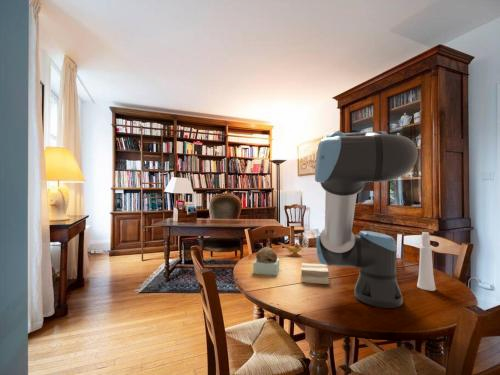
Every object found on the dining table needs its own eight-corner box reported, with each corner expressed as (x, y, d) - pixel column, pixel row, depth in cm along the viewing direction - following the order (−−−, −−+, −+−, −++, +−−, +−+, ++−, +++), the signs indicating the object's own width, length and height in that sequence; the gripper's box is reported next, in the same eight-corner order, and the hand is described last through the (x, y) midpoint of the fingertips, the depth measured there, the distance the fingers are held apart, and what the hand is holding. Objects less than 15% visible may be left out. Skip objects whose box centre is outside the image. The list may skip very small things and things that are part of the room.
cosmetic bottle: (419, 283, 101) (418, 230, 102) (437, 288, 97) (436, 232, 97) (415, 287, 97) (414, 232, 98) (433, 292, 93) (433, 234, 93)
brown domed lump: (258, 270, 113) (260, 256, 110) (252, 255, 122) (254, 242, 119) (278, 268, 116) (281, 255, 113) (271, 254, 125) (273, 241, 122)
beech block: (328, 284, 100) (328, 271, 100) (301, 281, 103) (301, 270, 103) (326, 275, 111) (326, 264, 111) (301, 273, 113) (301, 262, 114)
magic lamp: (279, 252, 154) (279, 234, 154) (308, 254, 148) (308, 236, 148) (276, 254, 147) (276, 236, 148) (307, 257, 142) (307, 238, 142)
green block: (276, 275, 111) (276, 264, 111) (253, 273, 113) (253, 262, 113) (279, 267, 122) (279, 257, 122) (257, 266, 124) (257, 256, 124)
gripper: (349, 166, 95) (349, 220, 94) (339, 171, 119) (339, 215, 119) (329, 166, 97) (329, 220, 96) (323, 172, 121) (323, 214, 120)
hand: (335, 217), depth 107 cm, fingers open, 13 cm apart
